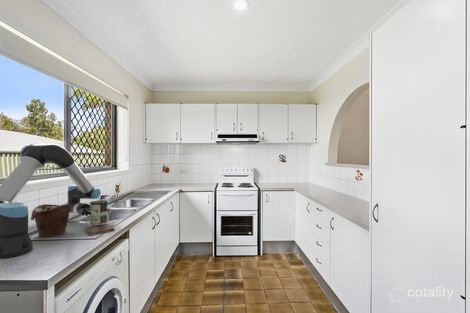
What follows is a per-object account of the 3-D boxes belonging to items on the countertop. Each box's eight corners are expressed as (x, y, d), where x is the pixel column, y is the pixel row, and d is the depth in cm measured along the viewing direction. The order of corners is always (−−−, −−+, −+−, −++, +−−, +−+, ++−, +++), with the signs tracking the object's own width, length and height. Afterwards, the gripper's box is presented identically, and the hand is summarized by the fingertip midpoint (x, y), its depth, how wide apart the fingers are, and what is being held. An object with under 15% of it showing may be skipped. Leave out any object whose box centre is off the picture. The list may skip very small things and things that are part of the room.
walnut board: (88, 235, 146) (88, 232, 146) (85, 230, 154) (85, 228, 154) (114, 230, 155) (114, 228, 155) (109, 226, 163) (109, 224, 163)
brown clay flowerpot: (36, 231, 153) (36, 201, 153) (74, 227, 161) (74, 199, 160) (25, 241, 137) (24, 208, 136) (68, 236, 144) (68, 205, 144)
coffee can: (106, 220, 172) (106, 199, 172) (108, 223, 163) (108, 202, 163) (89, 222, 166) (89, 201, 166) (90, 226, 158) (90, 203, 158)
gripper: (97, 210, 183) (118, 214, 173) (64, 217, 163) (85, 221, 153) (97, 200, 183) (118, 203, 173) (64, 206, 163) (85, 209, 153)
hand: (103, 212), depth 163 cm, fingers closed on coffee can, 10 cm apart
